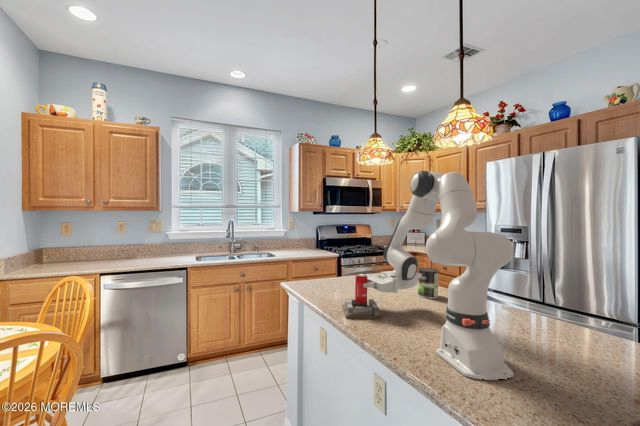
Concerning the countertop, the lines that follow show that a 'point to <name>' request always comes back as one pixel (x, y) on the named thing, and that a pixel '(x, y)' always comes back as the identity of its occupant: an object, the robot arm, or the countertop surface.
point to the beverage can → (360, 288)
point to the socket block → (361, 309)
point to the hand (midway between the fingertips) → (360, 283)
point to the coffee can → (428, 283)
